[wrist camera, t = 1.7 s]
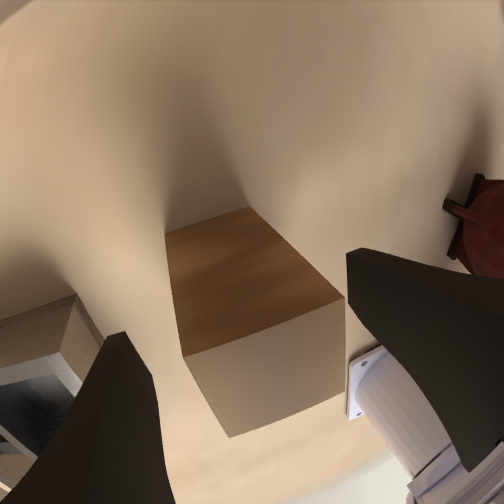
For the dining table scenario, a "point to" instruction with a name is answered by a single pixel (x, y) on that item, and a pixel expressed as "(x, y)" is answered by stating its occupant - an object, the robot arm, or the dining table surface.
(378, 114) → the dining table surface
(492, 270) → the mate gourd
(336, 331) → the brown rectangular block
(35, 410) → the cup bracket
